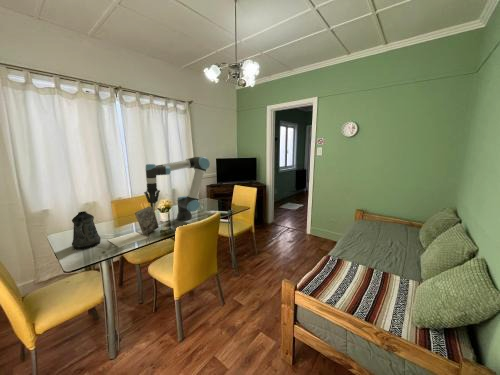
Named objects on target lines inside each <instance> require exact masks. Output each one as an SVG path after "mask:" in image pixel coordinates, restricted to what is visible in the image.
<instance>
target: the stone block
mask: <svg viewBox="0 0 500 375" xmlns="http://www.w3.org/2000/svg"><path fill="white" fill-rule="evenodd" d="M134 215H135V217H136V218H135V219H136V220H137V222H138V225H139V228H140V230H141V233H142V234H144V235H146V236H147V235H149V234H150V233H152V232H153V231H155V230H157V229H159V228H160V226H159V223H158V219H157V216H156V213H155V211H154V209H153V208H152V207H151V206H146V207H144V208H142V209H140V210H139V209H138V211H136V212H135V213H134Z"/></svg>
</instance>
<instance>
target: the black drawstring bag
mask: <svg viewBox="0 0 500 375" xmlns="http://www.w3.org/2000/svg"><path fill="white" fill-rule="evenodd" d="M94 220H95V216H94V215H93V214H90V213H88V212H87V211H85V210H84V211H83V210H82V211H78V214H77V215H76V214H75V216H74V217H73V218H72V219H71V222H72V223H73V229H72V230H73V234H72V235H73V236H72V242H71V246H72V248H73V250H75V249H76V251H80V250H88V249H92V248H95V247H97V246H99V245H100V244H101V241H102V240H101V236H100V234H99V233H98V230H97V228H96V225H95V221H94Z"/></svg>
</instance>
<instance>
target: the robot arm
mask: <svg viewBox="0 0 500 375" xmlns="http://www.w3.org/2000/svg"><path fill="white" fill-rule="evenodd" d="M210 164H211V162H210V160H209V159H208V158H207V157H205V156H193V157H190V158H186V159H185V160H179V161H175V162H170V163H164V164H163V163H162V164H157V165H156V164H154V163H147V164H145V177H146V178H145V180H146V190H145V191H144V192H143V194H144V195H145V198H146V201H147V203H148V204H150V207H152V208H153V209H154V212H155V211H156V209H155V208H156V203H157V202H158V199H159V197H160V196H159V194H160V192H161V190H160V189H158V188H157V186H158V185H157V184H158V183H157V182H158V181H157V176H168V175H170V174H171V172H172V171H173V172H175V171H179V170H182V169H193V170H194V172H193V173H194V174H193V178H192V181H191V185H190V189H189V193H188V195H183V196H178V197H177V200H176V201H177V215H176V220H177V219H178V220H177V221H181V220H184V221H190V220H191V218H192V219H193V214H192V213H193V212H196V211H198V210H199V208H200V206H201V205H200V201H199V199H200V198H199V193H200V189H201V187H202V181H203V177H204V174H205V173H206V171H207V169H209V168H210Z"/></svg>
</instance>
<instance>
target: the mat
mask: <svg viewBox="0 0 500 375" xmlns="http://www.w3.org/2000/svg"><path fill="white" fill-rule="evenodd" d="M149 238H150V236H148V235H147V234H146V235H145V234H143V233H142V232H140V231H134V232H131V233H128V234H124V235H121V236H117V237H114V238H111V239H110V238H109V239H107V242H109V243H110V244H112V245H114V246H115V247H117V248H118V249H119V248H122V247H126V246H128V245H132V244H134V243H137V242H141V241H143V240H147V239H149Z"/></svg>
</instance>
